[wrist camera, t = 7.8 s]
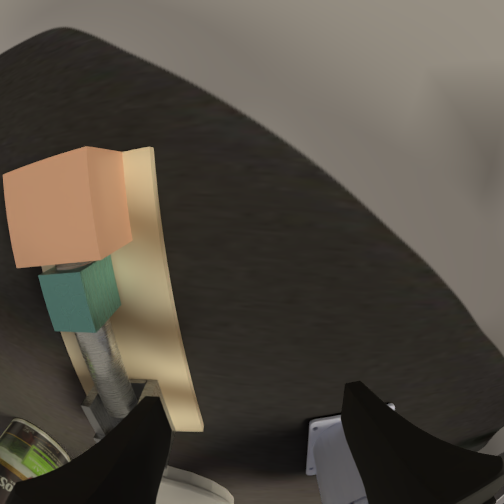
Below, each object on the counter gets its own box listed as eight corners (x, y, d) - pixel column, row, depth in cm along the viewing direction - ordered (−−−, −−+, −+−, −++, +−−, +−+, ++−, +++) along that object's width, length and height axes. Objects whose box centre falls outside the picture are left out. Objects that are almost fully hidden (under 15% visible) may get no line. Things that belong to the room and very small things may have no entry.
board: (203, 425, 22) (202, 431, 21) (103, 417, 22) (101, 423, 21) (153, 147, 17) (149, 146, 16) (34, 177, 17) (27, 177, 16)
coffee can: (30, 413, 23) (-23, 490, 9) (86, 468, 25) (53, 546, 11) (1, 419, 24) (-42, 479, 10) (49, 467, 26) (17, 529, 12)
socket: (132, 240, 17) (100, 260, 13) (55, 250, 17) (16, 268, 13) (122, 151, 16) (86, 146, 11) (44, 172, 16) (2, 174, 12)
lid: (172, 433, 23) (166, 456, 20) (260, 510, 27) (261, 527, 24) (65, 445, 24) (56, 461, 21) (158, 518, 29) (155, 532, 26)
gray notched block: (175, 430, 21) (166, 469, 17) (122, 426, 21) (108, 460, 17) (157, 379, 20) (141, 419, 15) (99, 376, 20) (77, 410, 15)
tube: (148, 392, 20) (134, 426, 16) (112, 389, 20) (95, 421, 16) (100, 189, 16) (66, 194, 12) (61, 198, 16) (25, 205, 12)
